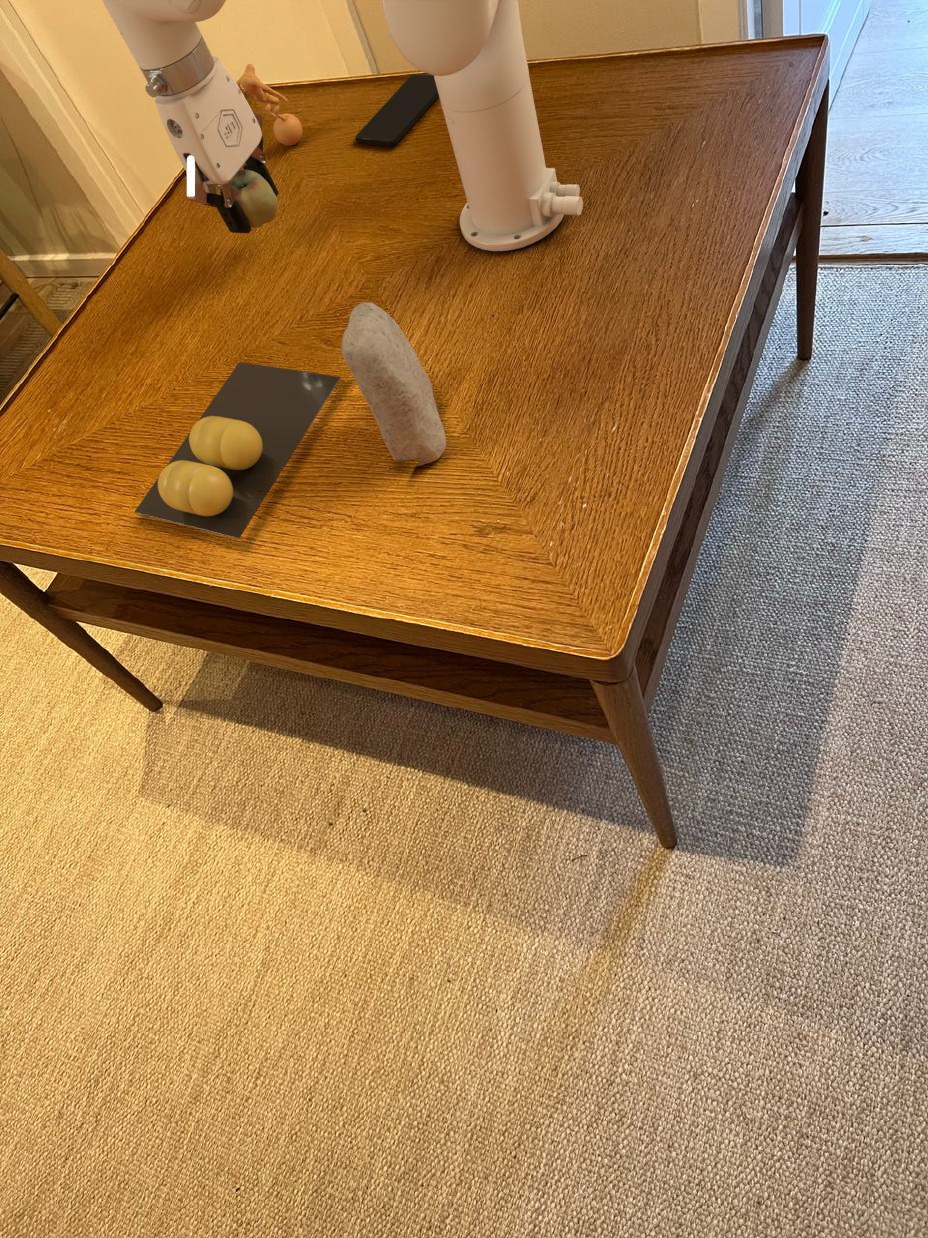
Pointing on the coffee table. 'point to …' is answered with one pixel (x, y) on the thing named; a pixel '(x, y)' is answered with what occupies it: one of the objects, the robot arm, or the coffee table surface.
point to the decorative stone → (393, 385)
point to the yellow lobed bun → (225, 443)
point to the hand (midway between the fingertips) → (254, 211)
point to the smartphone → (400, 112)
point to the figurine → (285, 124)
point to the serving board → (281, 418)
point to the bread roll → (195, 488)
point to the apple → (254, 197)
